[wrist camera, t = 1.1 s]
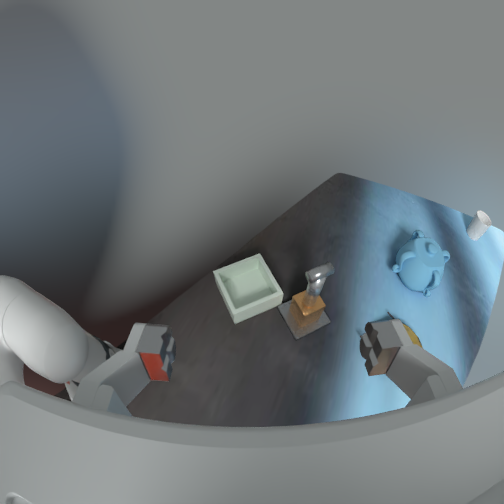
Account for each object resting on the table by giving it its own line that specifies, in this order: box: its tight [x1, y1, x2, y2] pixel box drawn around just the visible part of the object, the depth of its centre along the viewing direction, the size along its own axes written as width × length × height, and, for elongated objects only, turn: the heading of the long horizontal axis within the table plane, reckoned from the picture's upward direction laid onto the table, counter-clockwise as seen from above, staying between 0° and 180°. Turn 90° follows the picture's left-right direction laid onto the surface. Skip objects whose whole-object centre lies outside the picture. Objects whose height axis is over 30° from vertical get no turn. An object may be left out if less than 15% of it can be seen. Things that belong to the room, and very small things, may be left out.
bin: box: [213, 253, 283, 324], centre depth 71 cm, size 13×13×6 cm
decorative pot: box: [392, 230, 450, 297], centre depth 70 cm, size 16×16×14 cm
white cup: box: [467, 210, 491, 241], centre depth 81 cm, size 8×8×10 cm
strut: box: [289, 262, 334, 328], centre depth 59 cm, size 6×6×21 cm
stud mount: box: [277, 300, 331, 341], centre depth 66 cm, size 10×10×8 cm
